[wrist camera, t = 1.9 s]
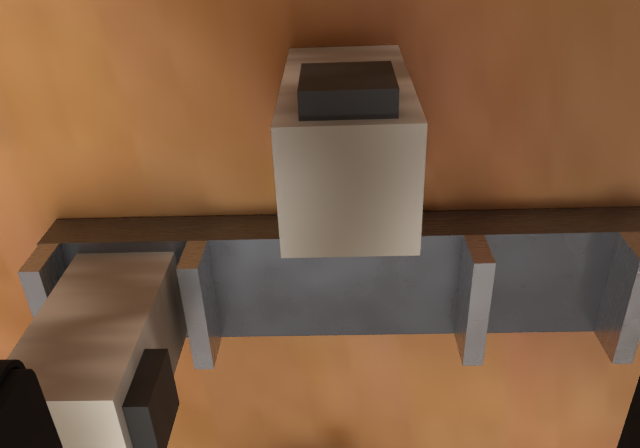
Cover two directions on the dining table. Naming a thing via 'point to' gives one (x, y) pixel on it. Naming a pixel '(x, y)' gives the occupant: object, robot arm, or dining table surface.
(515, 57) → the dining table surface
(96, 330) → the block
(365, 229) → the block
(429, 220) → the rail
